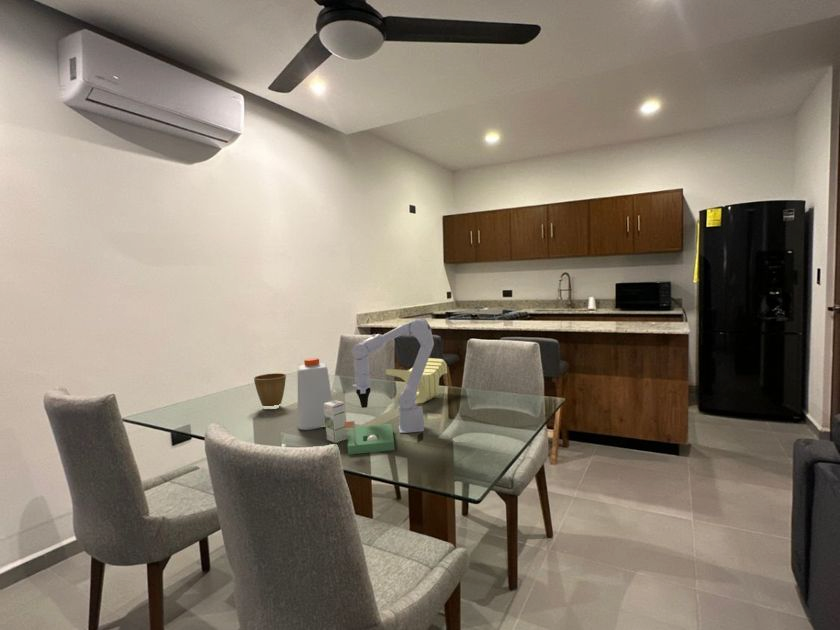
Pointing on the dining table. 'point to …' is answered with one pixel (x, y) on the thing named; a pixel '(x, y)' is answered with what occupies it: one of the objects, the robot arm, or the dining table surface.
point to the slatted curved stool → (425, 378)
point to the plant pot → (270, 388)
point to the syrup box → (335, 421)
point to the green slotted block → (361, 434)
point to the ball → (372, 438)
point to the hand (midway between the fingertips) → (364, 407)
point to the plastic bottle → (312, 394)
